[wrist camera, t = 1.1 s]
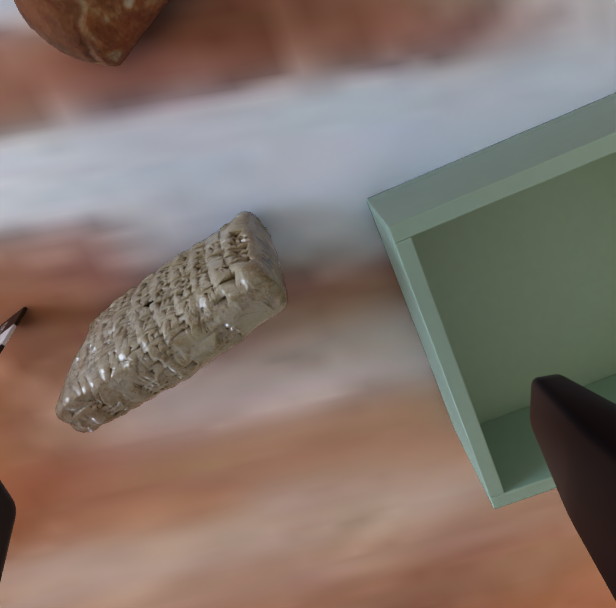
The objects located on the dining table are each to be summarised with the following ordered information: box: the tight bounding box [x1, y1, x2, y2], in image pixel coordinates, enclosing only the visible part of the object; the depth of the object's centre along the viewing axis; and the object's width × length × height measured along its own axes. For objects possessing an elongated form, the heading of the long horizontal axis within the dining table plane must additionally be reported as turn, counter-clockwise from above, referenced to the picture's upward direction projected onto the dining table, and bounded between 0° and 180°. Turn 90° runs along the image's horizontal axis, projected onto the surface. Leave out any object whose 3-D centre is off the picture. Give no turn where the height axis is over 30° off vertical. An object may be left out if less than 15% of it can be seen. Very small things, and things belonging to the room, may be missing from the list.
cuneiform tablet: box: [0, 211, 288, 433], centre depth 20 cm, size 7×4×12 cm
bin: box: [367, 93, 616, 509], centre depth 21 cm, size 12×11×5 cm
